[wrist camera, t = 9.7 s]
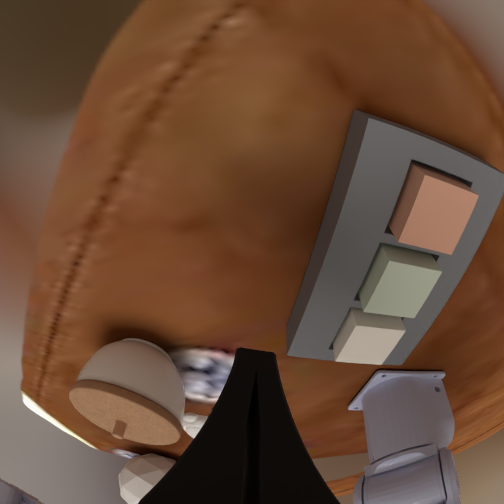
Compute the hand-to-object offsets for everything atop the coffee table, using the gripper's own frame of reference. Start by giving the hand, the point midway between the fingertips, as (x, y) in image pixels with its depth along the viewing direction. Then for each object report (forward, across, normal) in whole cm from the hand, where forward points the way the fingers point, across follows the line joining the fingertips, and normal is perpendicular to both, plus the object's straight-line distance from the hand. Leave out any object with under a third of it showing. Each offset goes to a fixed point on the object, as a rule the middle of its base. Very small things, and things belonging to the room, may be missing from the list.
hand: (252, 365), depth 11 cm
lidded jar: (+11, +9, +17) cm, 22 cm away
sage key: (+9, -8, 0) cm, 12 cm away
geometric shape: (+11, +10, +55) cm, 57 cm away
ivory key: (+9, -9, +5) cm, 13 cm away
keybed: (+10, -8, 0) cm, 13 cm away
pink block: (+9, -9, -5) cm, 13 cm away
